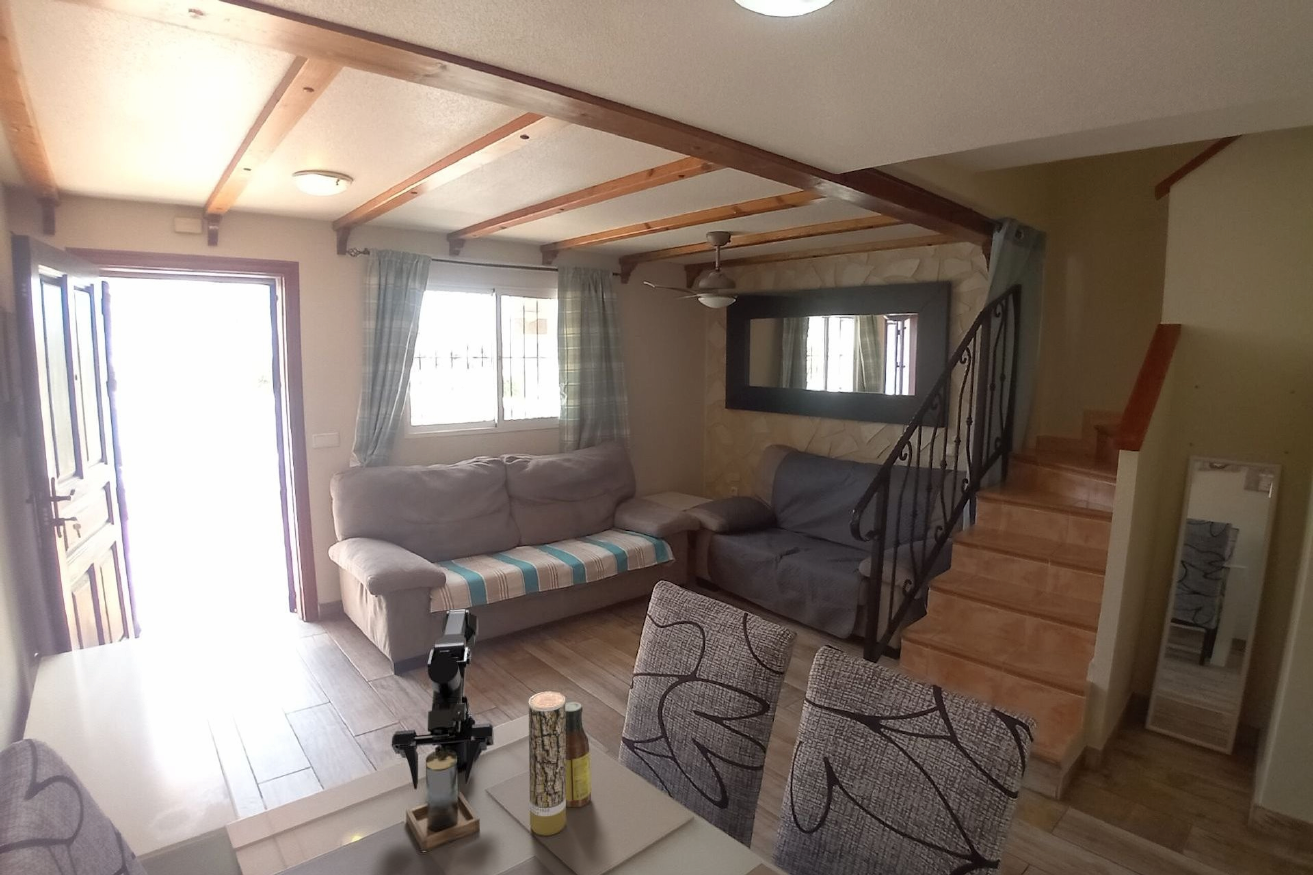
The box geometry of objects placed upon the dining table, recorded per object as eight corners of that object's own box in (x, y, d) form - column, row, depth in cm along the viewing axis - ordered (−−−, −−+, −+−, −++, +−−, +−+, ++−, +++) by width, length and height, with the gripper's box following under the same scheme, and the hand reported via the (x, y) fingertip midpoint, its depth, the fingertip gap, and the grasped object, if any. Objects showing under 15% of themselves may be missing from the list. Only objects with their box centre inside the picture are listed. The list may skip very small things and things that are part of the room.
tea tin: (439, 810, 132) (438, 747, 131) (464, 816, 130) (462, 752, 129) (421, 828, 127) (419, 762, 125) (445, 835, 125) (444, 768, 124)
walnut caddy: (460, 801, 136) (460, 791, 135) (479, 830, 127) (479, 819, 127) (406, 821, 129) (406, 810, 129) (422, 852, 121) (422, 841, 121)
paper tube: (558, 839, 124) (558, 710, 122) (524, 834, 126) (523, 706, 124) (570, 816, 131) (570, 693, 129) (537, 811, 132) (536, 689, 130)
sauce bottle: (593, 791, 139) (593, 699, 137) (587, 810, 133) (587, 714, 131) (562, 789, 140) (562, 697, 138) (555, 808, 134) (554, 712, 132)
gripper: (391, 691, 128) (381, 780, 119) (492, 684, 132) (489, 769, 122) (400, 711, 137) (391, 795, 127) (494, 703, 140) (492, 785, 130)
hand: (441, 786), depth 126 cm, fingers open, 9 cm apart
